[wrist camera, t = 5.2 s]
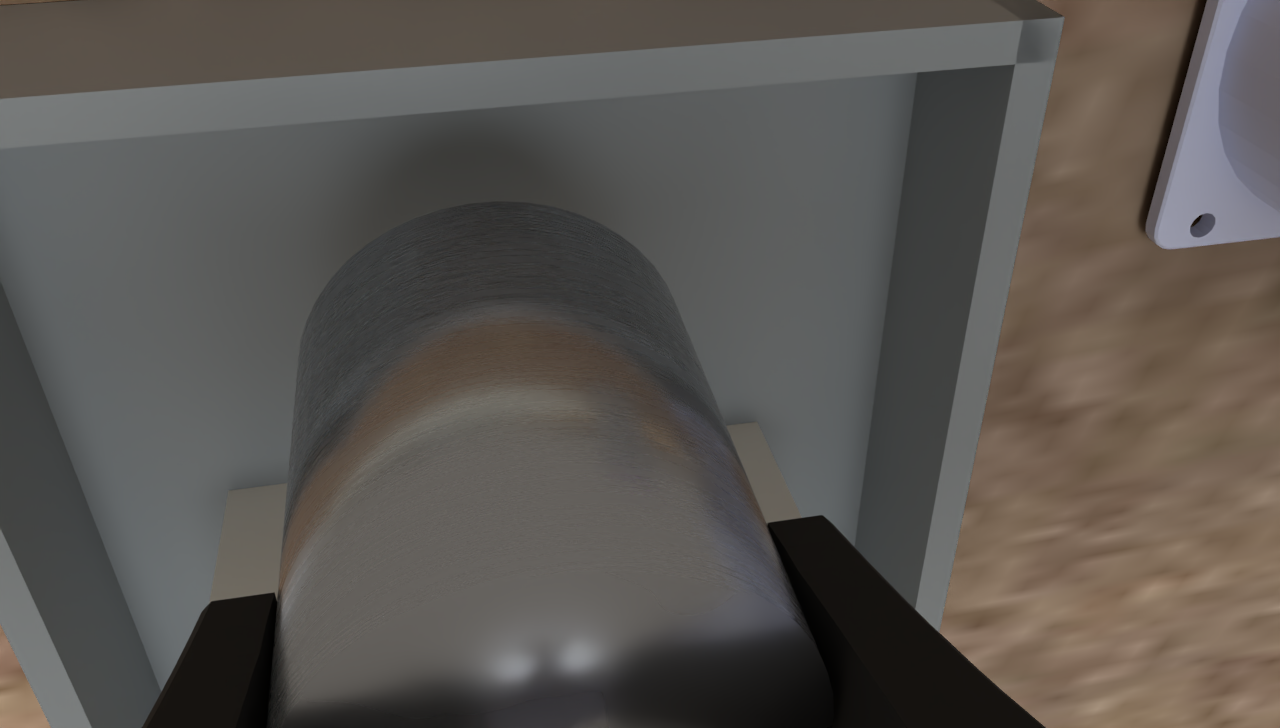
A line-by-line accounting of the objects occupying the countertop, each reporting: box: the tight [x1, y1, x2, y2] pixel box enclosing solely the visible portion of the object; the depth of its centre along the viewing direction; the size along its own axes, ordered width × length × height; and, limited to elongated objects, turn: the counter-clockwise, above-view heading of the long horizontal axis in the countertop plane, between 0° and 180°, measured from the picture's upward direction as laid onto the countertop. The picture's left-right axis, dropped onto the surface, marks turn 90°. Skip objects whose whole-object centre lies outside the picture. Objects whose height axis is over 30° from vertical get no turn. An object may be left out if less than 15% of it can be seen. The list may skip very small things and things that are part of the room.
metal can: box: [266, 201, 834, 728], centre depth 12 cm, size 5×5×6 cm
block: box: [209, 422, 802, 603], centre depth 21 cm, size 10×6×4 cm, turn 91°
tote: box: [0, 0, 1065, 728], centre depth 20 cm, size 16×16×4 cm
